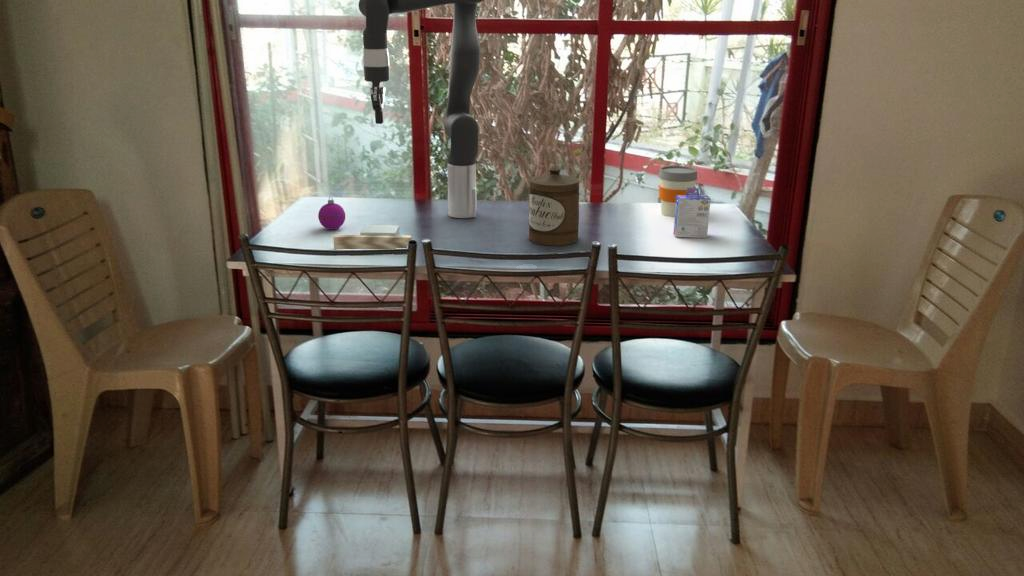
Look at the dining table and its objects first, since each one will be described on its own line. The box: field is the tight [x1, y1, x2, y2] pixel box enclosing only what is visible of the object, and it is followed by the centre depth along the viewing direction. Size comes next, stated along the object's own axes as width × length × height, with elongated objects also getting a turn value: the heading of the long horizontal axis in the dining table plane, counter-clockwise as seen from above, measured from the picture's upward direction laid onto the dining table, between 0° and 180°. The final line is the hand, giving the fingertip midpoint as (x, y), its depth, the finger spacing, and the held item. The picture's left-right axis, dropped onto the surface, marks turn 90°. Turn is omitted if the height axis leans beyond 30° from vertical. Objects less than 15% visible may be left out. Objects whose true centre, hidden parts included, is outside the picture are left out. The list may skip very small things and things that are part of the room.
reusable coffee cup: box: [658, 165, 698, 218], centre depth 277 cm, size 13×13×15 cm
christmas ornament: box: [317, 197, 346, 230], centre depth 256 cm, size 8×8×10 cm
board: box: [332, 234, 413, 250], centre depth 238 cm, size 22×2×4 cm, turn 90°
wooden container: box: [528, 165, 580, 246], centre depth 247 cm, size 15×15×22 cm
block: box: [359, 224, 401, 235], centre depth 242 cm, size 10×8×5 cm
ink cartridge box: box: [673, 187, 711, 239], centre depth 252 cm, size 10×6×14 cm, turn 90°
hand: (379, 123), depth 253 cm, fingers closed
